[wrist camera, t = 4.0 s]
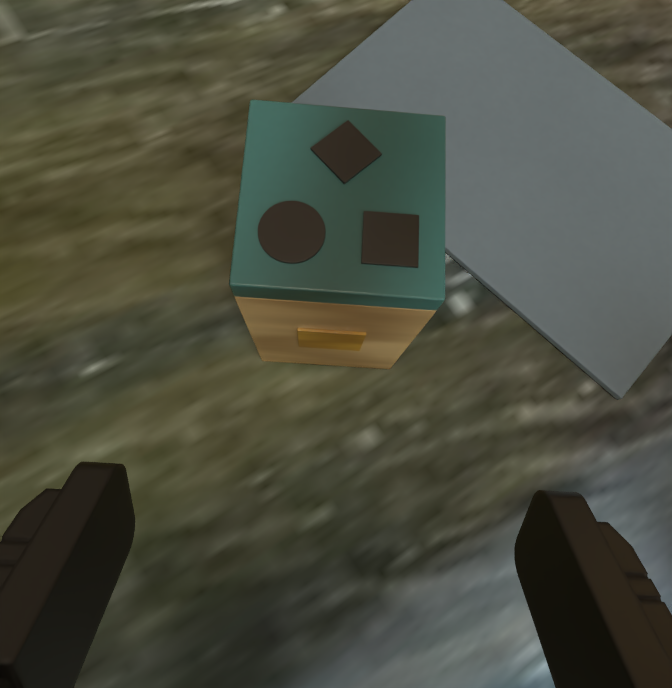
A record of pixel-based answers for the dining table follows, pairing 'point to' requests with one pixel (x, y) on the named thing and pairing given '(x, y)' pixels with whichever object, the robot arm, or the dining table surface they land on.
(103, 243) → the dining table surface
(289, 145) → the shape sorter
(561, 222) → the mat
